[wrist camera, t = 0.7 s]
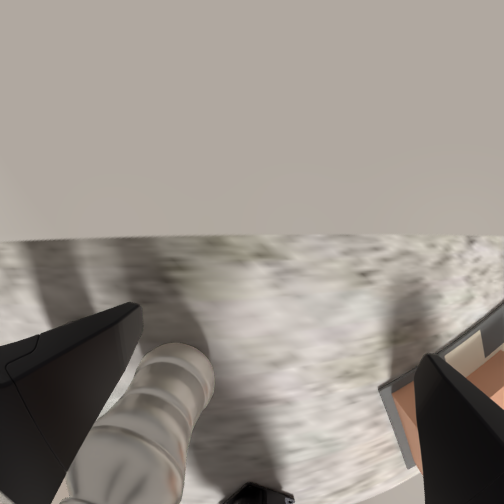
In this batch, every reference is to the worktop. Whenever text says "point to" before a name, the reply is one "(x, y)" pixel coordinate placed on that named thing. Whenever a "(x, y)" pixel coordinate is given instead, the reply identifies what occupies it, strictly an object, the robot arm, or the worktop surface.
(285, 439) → the worktop surface
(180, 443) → the plastic bottle
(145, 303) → the worktop surface
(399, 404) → the t block
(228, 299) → the worktop surface
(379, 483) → the worktop surface
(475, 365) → the mat
